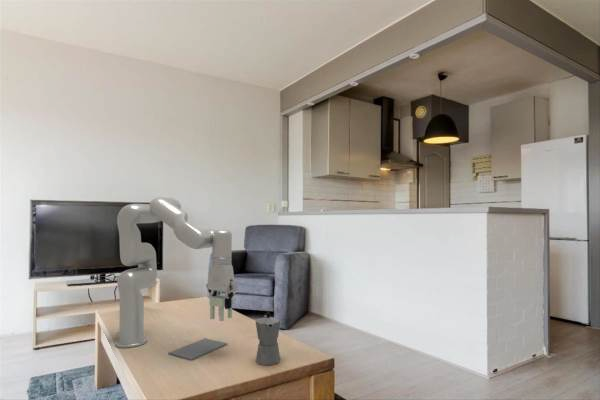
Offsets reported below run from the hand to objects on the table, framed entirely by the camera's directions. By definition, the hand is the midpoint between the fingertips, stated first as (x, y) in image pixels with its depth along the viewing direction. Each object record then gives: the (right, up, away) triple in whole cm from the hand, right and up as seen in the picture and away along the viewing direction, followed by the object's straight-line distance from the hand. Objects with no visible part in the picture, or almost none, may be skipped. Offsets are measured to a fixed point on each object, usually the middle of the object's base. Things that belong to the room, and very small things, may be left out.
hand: (221, 306), depth 148 cm
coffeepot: (+19, -19, -6) cm, 27 cm away
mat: (-10, -19, +6) cm, 22 cm away
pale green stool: (0, -4, 0) cm, 4 cm away
